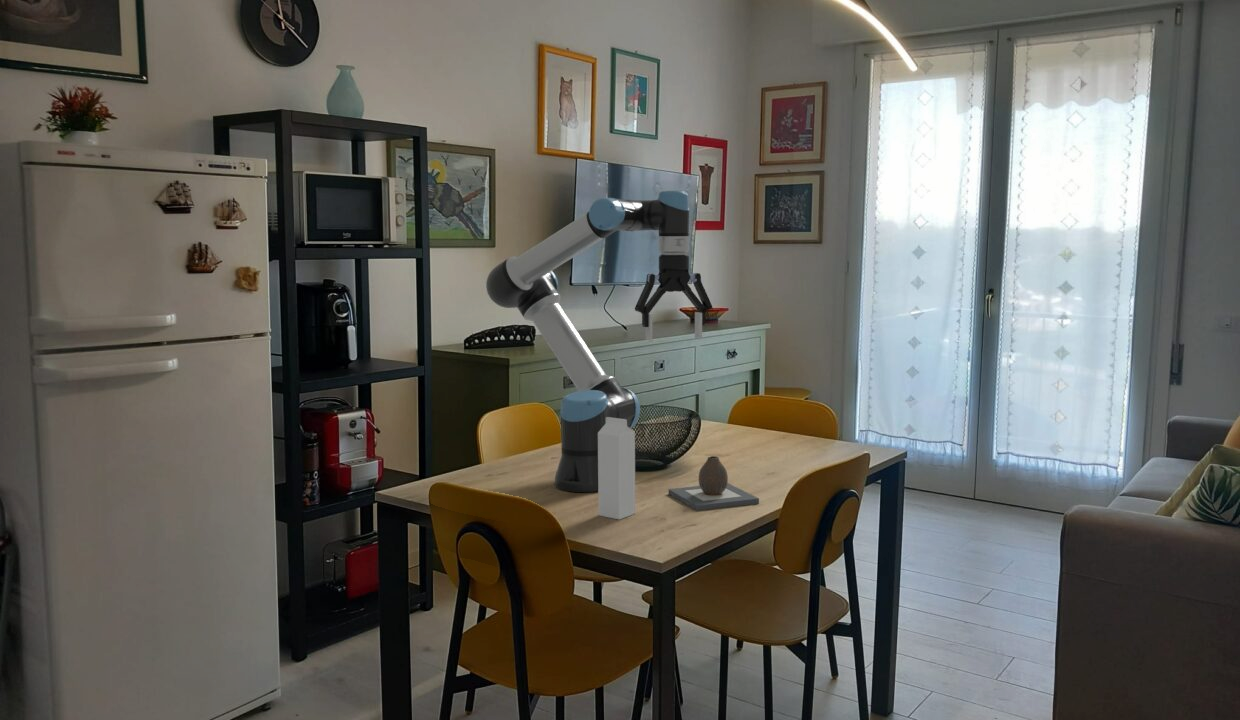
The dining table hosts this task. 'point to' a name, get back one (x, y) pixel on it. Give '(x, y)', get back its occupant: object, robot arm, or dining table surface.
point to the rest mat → (713, 497)
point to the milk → (616, 469)
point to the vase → (713, 477)
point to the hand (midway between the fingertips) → (673, 339)
